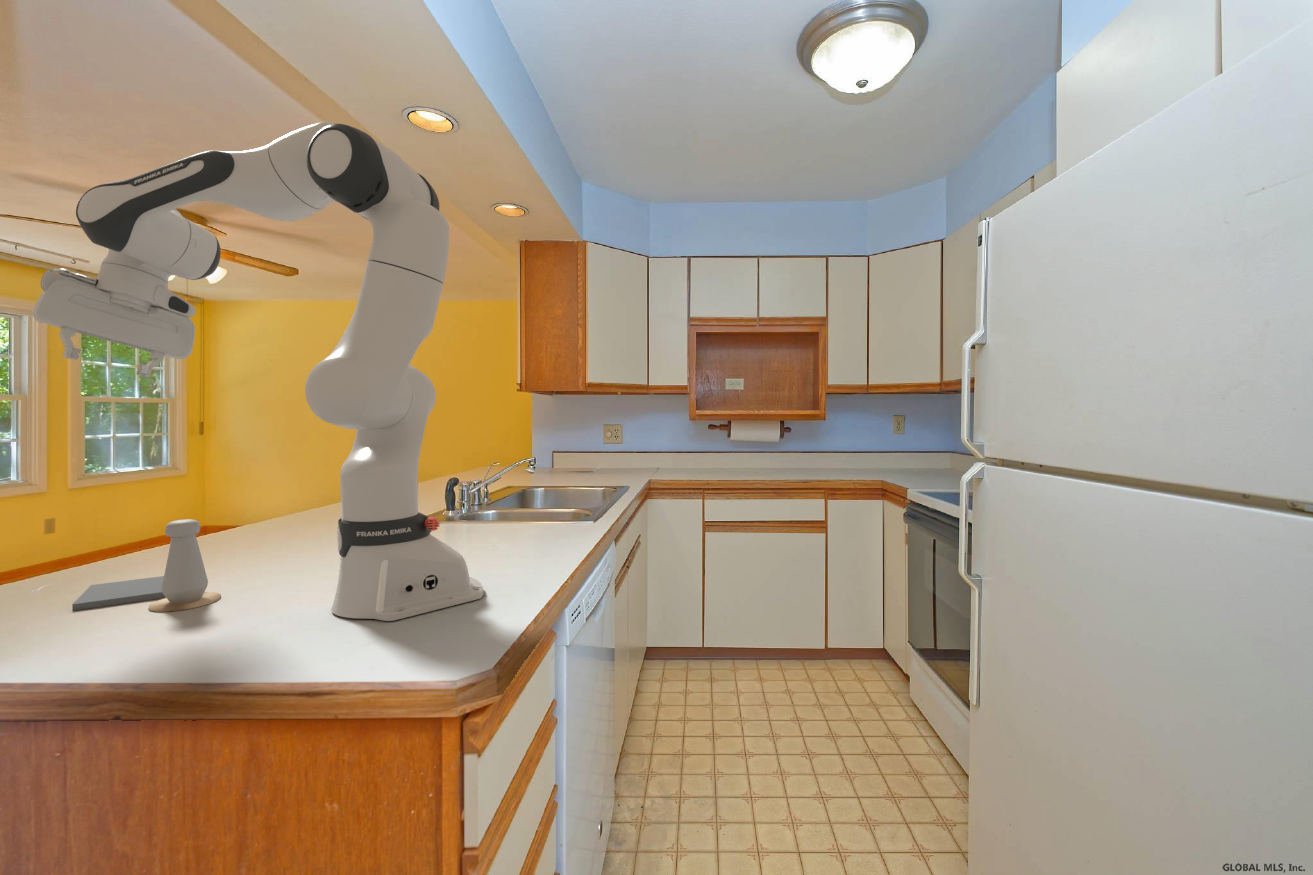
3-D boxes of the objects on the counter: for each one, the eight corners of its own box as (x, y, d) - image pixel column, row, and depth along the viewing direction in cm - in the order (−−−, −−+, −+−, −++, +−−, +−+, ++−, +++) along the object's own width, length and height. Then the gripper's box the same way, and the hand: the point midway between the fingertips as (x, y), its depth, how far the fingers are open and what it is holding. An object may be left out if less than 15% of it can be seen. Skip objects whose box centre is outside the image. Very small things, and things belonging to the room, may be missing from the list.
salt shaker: (214, 598, 93) (211, 519, 93) (170, 608, 89) (167, 525, 88) (199, 592, 97) (196, 515, 96) (156, 602, 92) (153, 521, 91)
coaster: (222, 590, 99) (222, 588, 99) (219, 604, 91) (219, 602, 91) (153, 600, 94) (153, 598, 94) (144, 616, 86) (144, 614, 86)
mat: (181, 579, 105) (181, 573, 105) (173, 596, 96) (173, 590, 96) (91, 590, 99) (91, 585, 99) (72, 610, 89) (72, 604, 89)
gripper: (52, 260, 89) (25, 345, 87) (206, 312, 106) (186, 384, 104) (41, 265, 92) (14, 347, 90) (191, 315, 109) (172, 384, 107)
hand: (107, 367), depth 97 cm, fingers open, 8 cm apart
